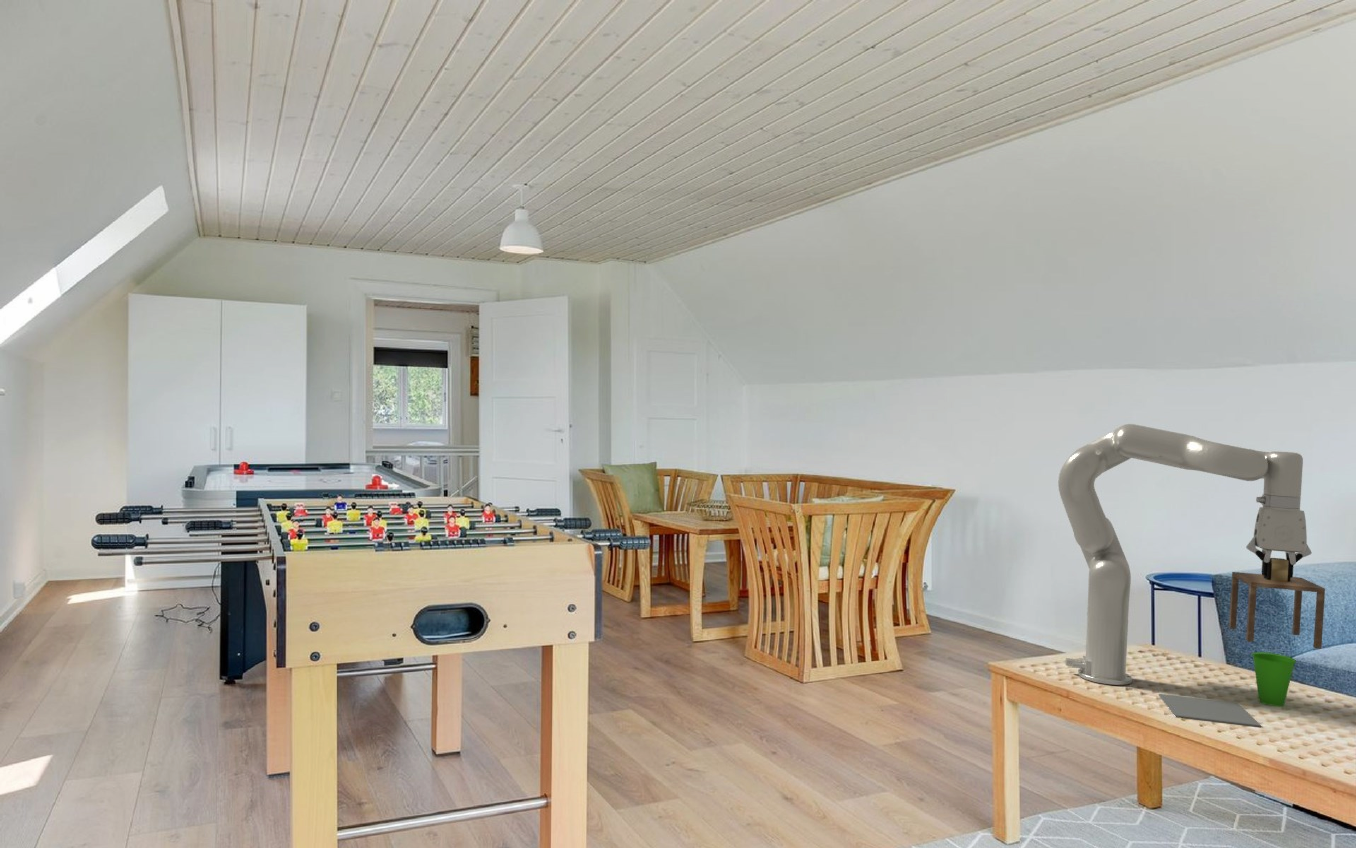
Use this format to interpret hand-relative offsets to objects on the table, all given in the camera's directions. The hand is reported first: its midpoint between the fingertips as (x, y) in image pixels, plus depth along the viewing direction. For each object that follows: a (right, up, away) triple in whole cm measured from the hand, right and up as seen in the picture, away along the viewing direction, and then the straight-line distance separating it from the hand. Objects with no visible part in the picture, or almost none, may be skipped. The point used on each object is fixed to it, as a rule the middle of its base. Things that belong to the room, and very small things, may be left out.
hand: (1276, 578), depth 222 cm
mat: (-21, -29, -8) cm, 37 cm away
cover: (-1, -14, 0) cm, 14 cm away
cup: (-1, -30, 0) cm, 30 cm away
